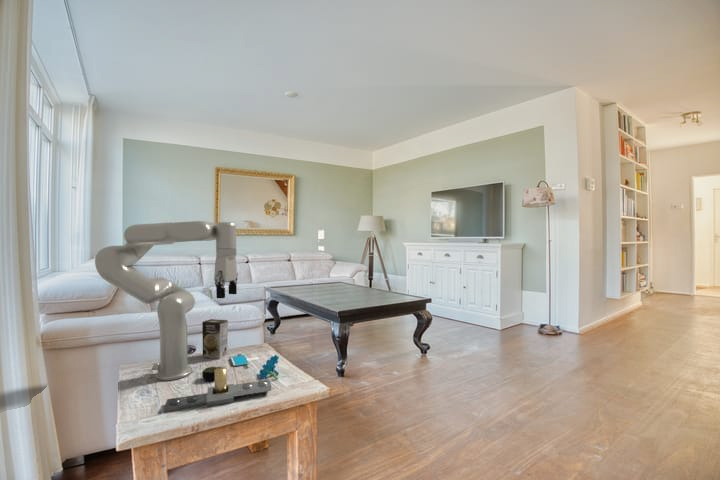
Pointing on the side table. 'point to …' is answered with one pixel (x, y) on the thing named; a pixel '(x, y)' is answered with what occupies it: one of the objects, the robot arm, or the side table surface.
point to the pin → (220, 380)
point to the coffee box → (215, 338)
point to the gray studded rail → (218, 396)
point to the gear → (269, 368)
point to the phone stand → (241, 360)
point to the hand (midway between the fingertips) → (226, 296)
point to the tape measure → (209, 373)
